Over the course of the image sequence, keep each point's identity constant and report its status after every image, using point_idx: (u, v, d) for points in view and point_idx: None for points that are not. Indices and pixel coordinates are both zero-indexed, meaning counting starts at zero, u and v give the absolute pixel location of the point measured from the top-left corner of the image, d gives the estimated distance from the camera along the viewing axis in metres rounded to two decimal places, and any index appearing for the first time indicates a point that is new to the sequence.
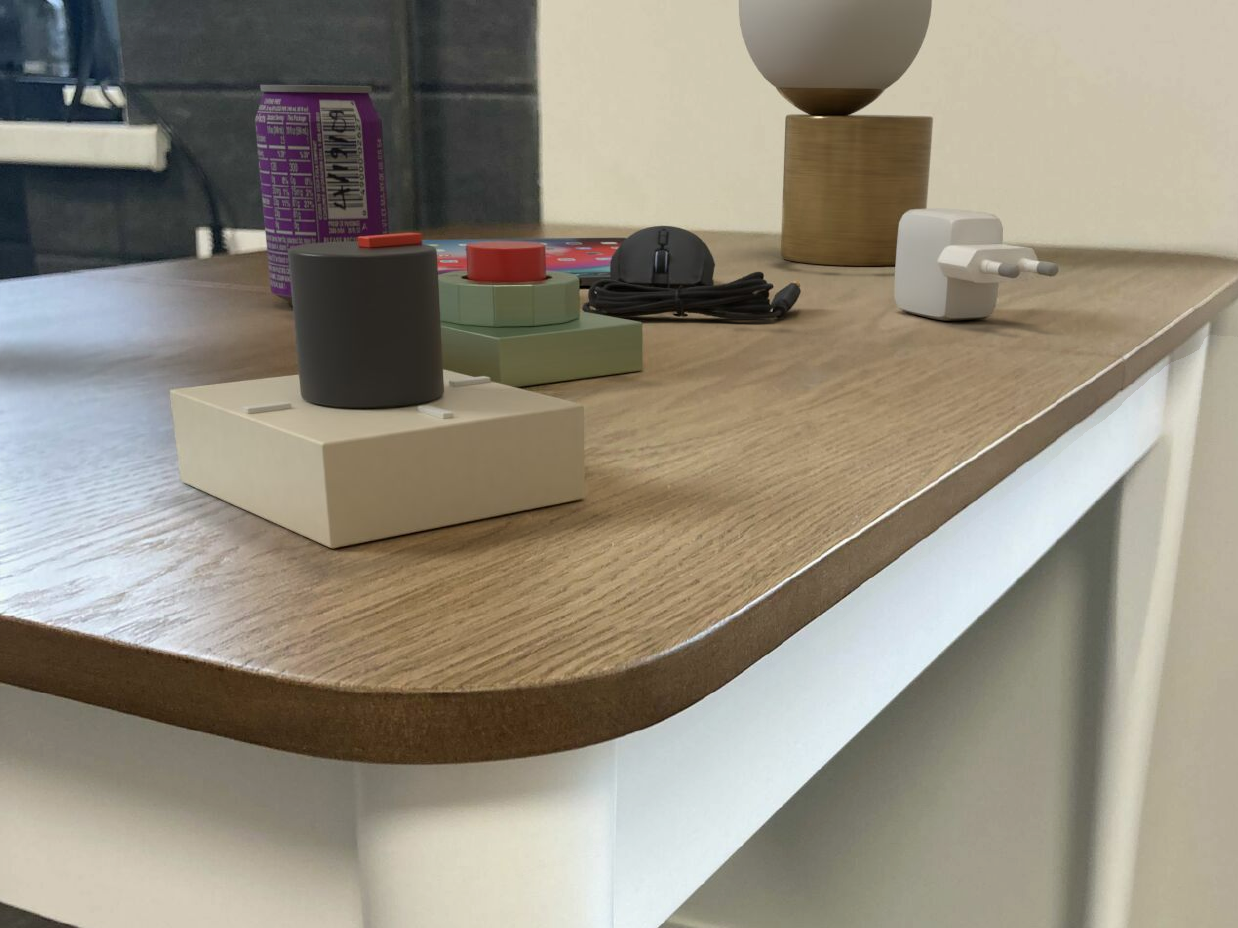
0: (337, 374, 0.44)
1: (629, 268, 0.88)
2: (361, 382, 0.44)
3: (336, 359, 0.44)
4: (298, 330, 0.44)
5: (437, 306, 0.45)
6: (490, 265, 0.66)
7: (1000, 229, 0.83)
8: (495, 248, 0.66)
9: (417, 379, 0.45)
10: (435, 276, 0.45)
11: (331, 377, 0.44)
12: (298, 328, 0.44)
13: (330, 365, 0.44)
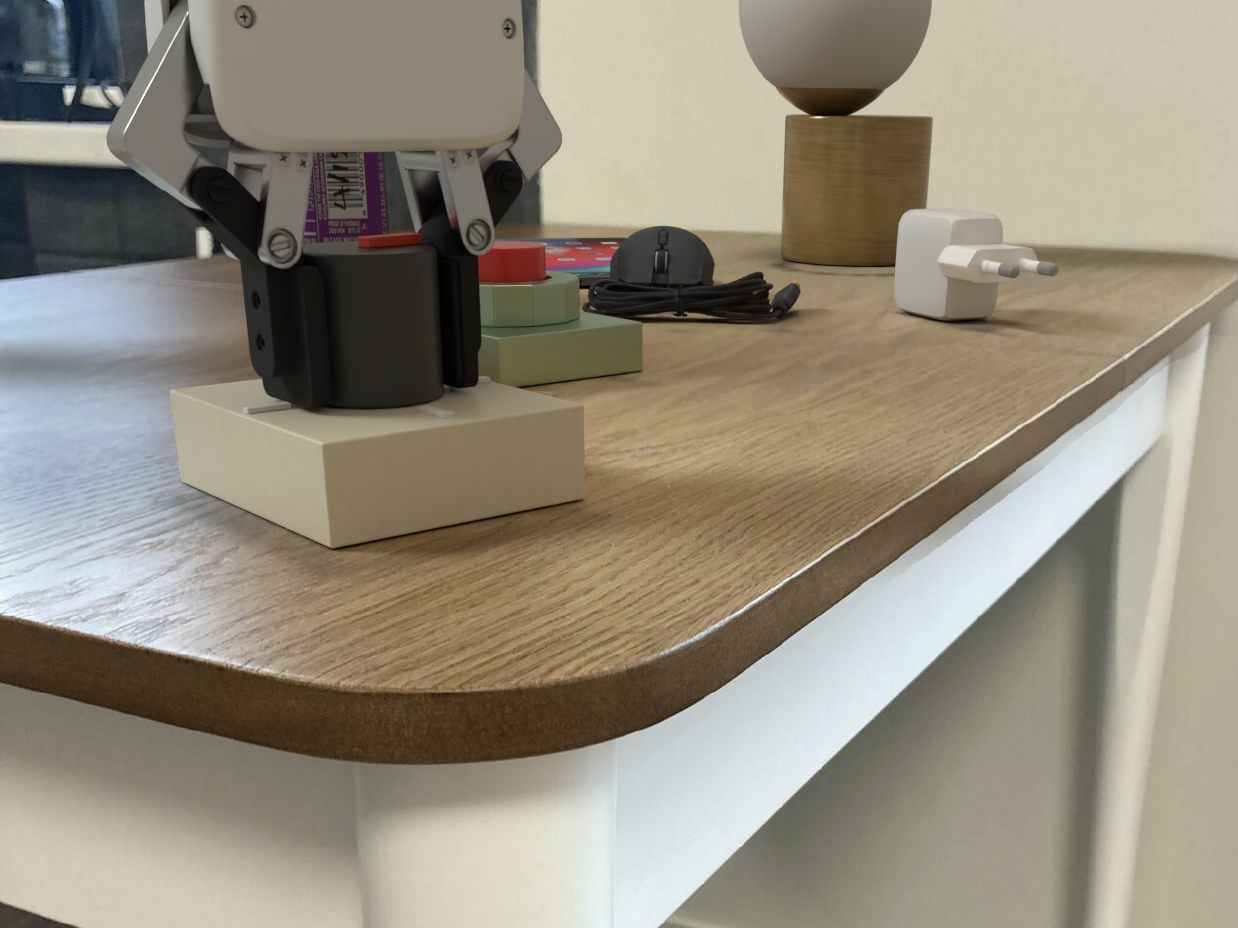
0: (337, 374, 0.44)
1: (629, 268, 0.88)
2: (361, 382, 0.44)
3: (336, 359, 0.44)
4: None
5: (437, 306, 0.45)
6: (490, 265, 0.66)
7: (1000, 229, 0.83)
8: (495, 248, 0.66)
9: (417, 379, 0.45)
10: (435, 276, 0.45)
11: (331, 377, 0.44)
12: None
13: (330, 365, 0.44)
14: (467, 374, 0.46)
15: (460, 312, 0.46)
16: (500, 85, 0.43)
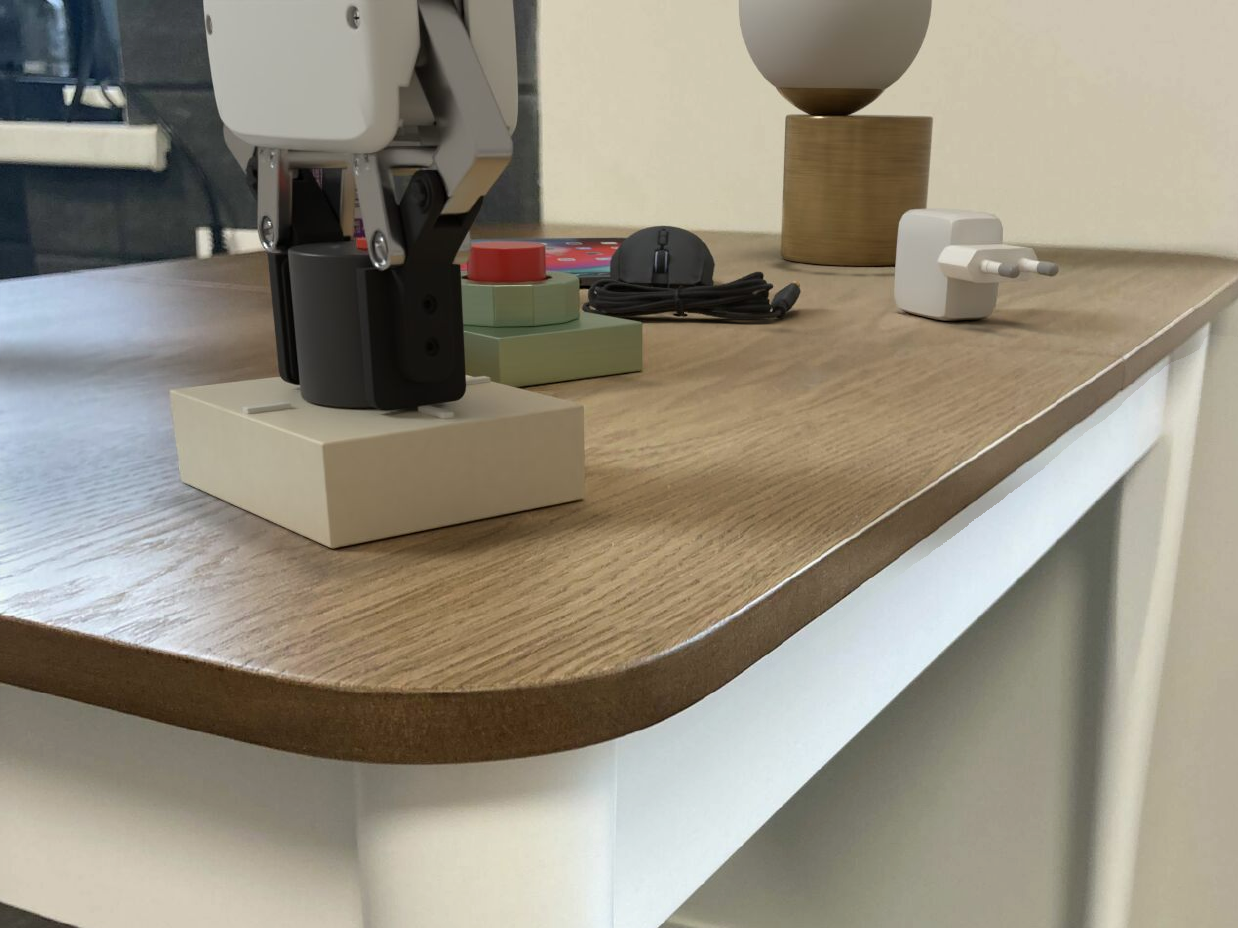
0: None
1: (629, 268, 0.88)
2: None
3: None
4: None
5: (344, 314, 0.43)
6: (490, 265, 0.66)
7: (1000, 229, 0.83)
8: (495, 248, 0.66)
9: (313, 379, 0.44)
10: (340, 282, 0.43)
11: None
12: None
13: None
14: (366, 393, 0.43)
15: (364, 327, 0.43)
16: (352, 82, 0.39)
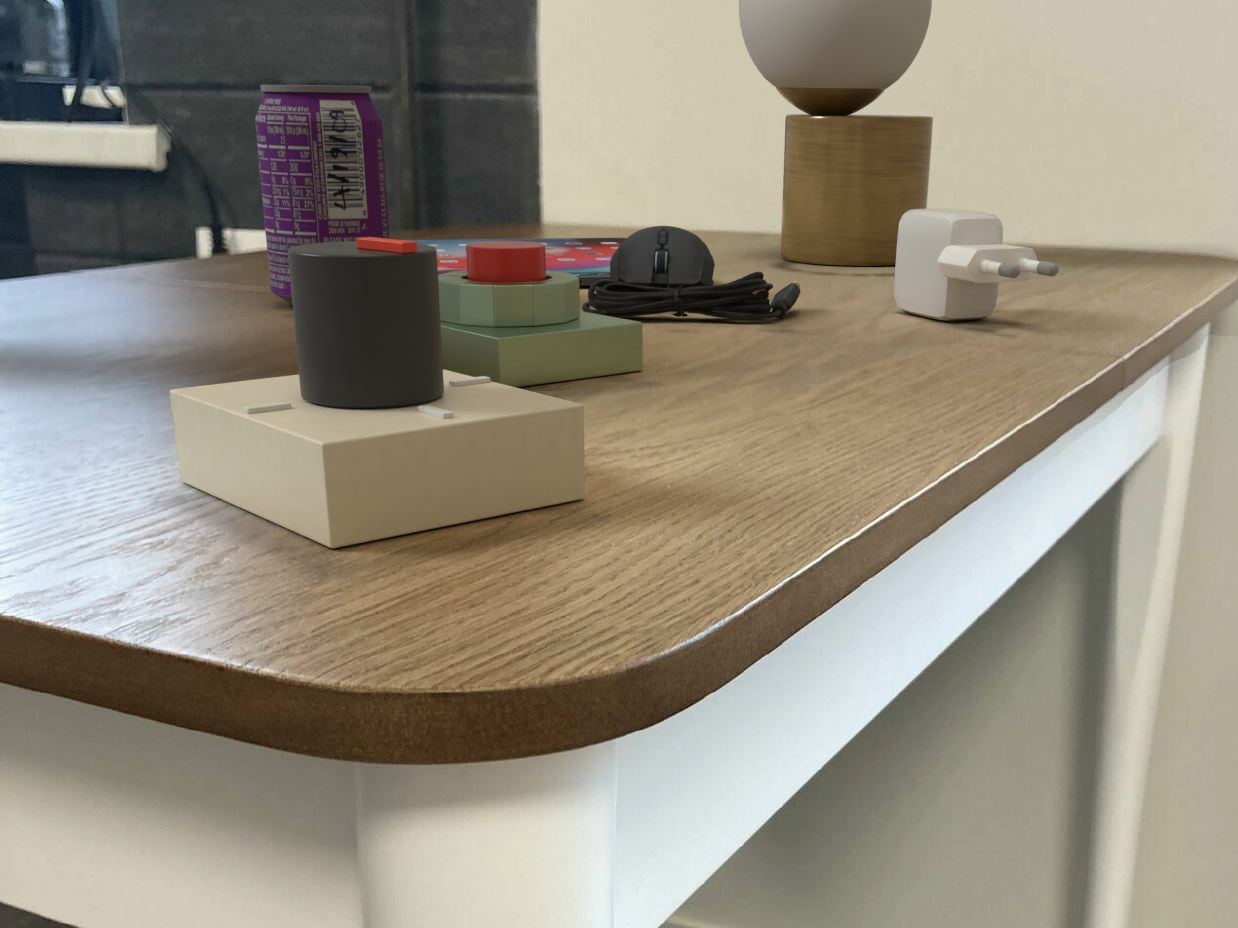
0: None
1: (629, 268, 0.88)
2: None
3: None
4: None
5: (344, 314, 0.43)
6: (490, 265, 0.66)
7: (1000, 229, 0.83)
8: (495, 248, 0.66)
9: (313, 379, 0.44)
10: (340, 282, 0.43)
11: None
12: None
13: None
14: None
15: None
16: None
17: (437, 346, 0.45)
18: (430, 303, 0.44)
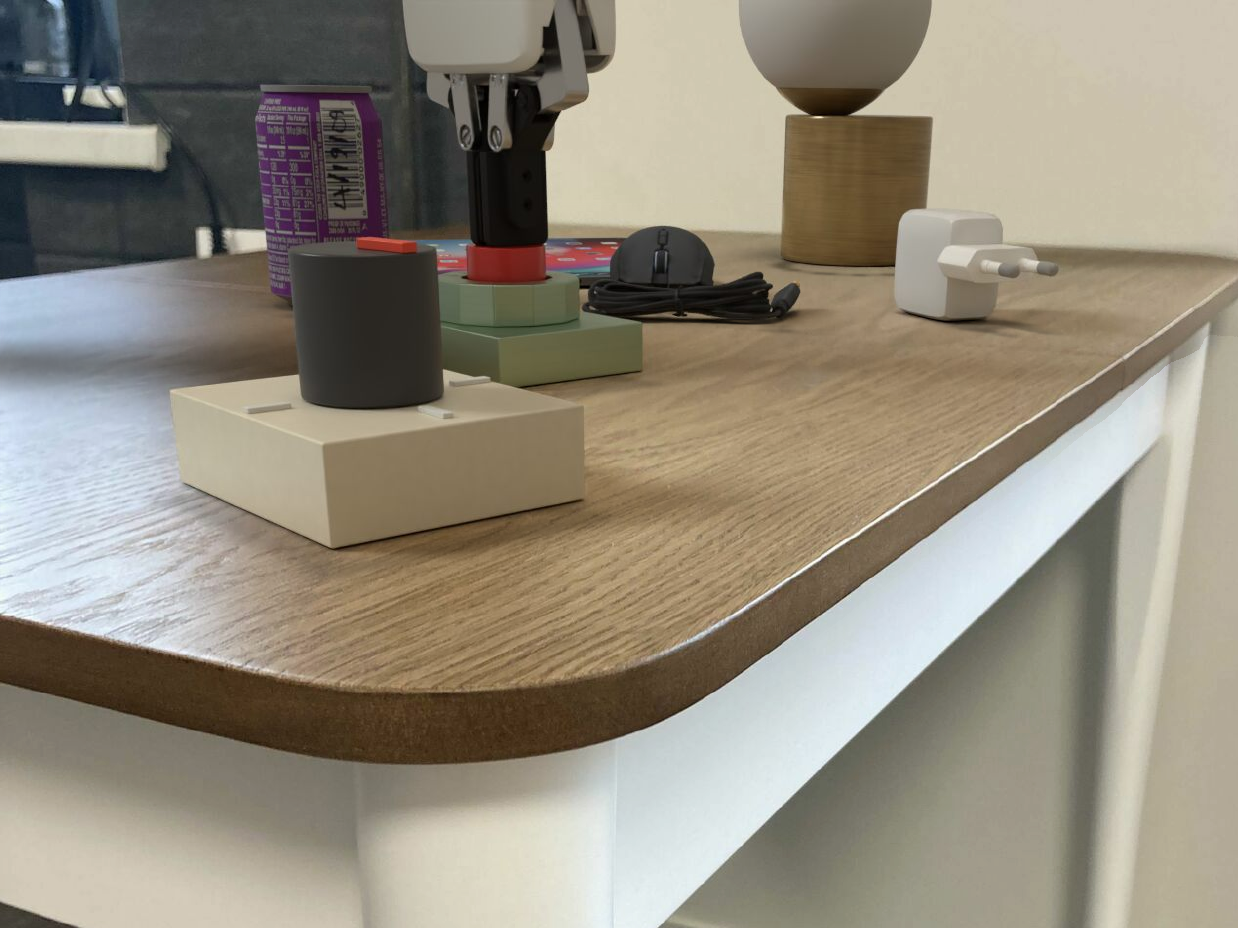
0: None
1: (629, 268, 0.88)
2: None
3: None
4: None
5: (344, 314, 0.43)
6: (490, 265, 0.66)
7: (1000, 229, 0.83)
8: (495, 248, 0.66)
9: (313, 379, 0.44)
10: (340, 282, 0.43)
11: None
12: None
13: None
14: (484, 236, 0.66)
15: (484, 191, 0.65)
16: (511, 24, 0.60)
17: (437, 346, 0.45)
18: (430, 303, 0.44)
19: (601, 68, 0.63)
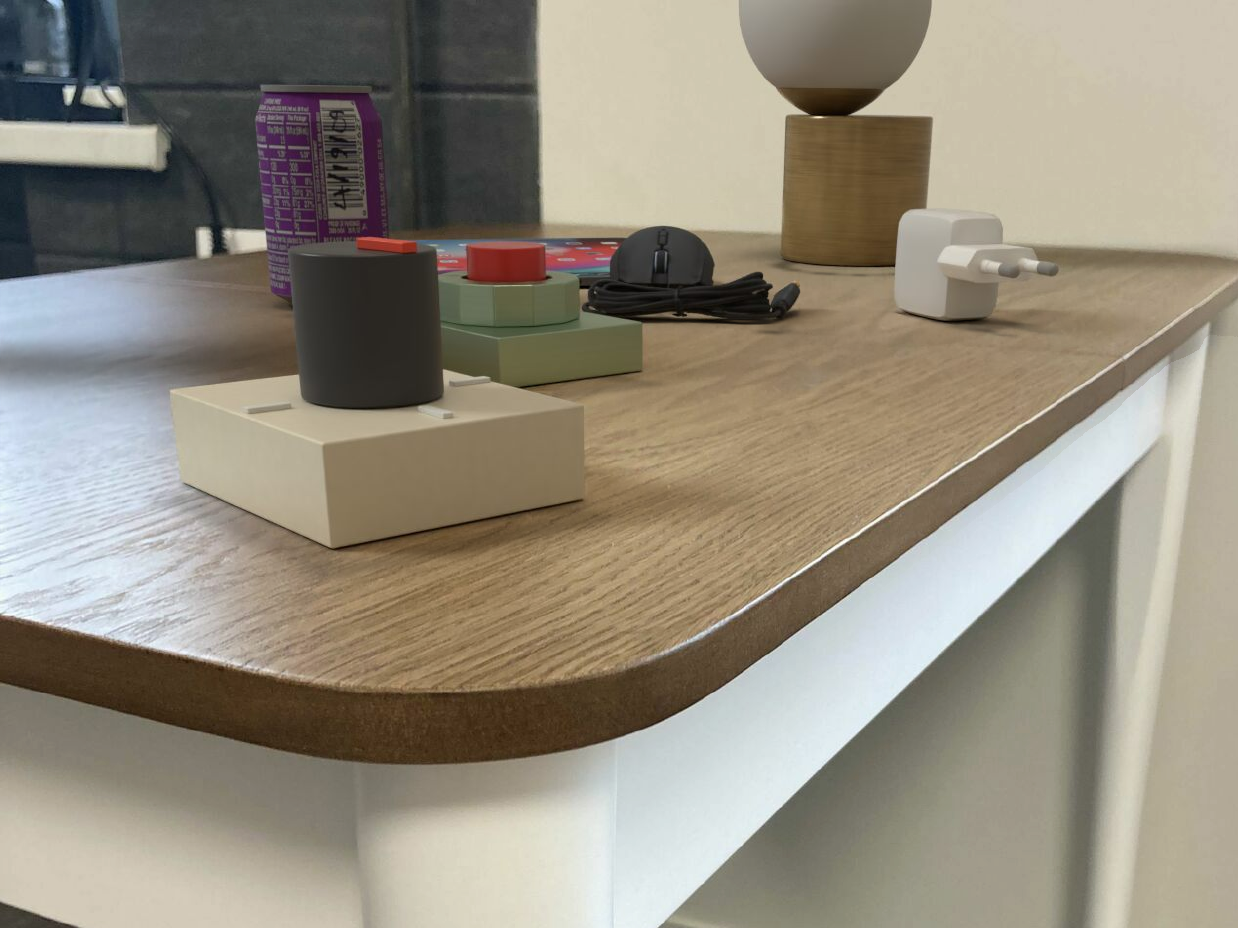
0: None
1: (628, 268, 0.88)
2: None
3: None
4: None
5: (344, 314, 0.43)
6: (490, 265, 0.66)
7: (1000, 229, 0.83)
8: (495, 248, 0.66)
9: (313, 379, 0.44)
10: (340, 282, 0.43)
11: None
12: None
13: None
14: None
15: None
16: None
17: (437, 346, 0.45)
18: (430, 303, 0.44)
19: None
